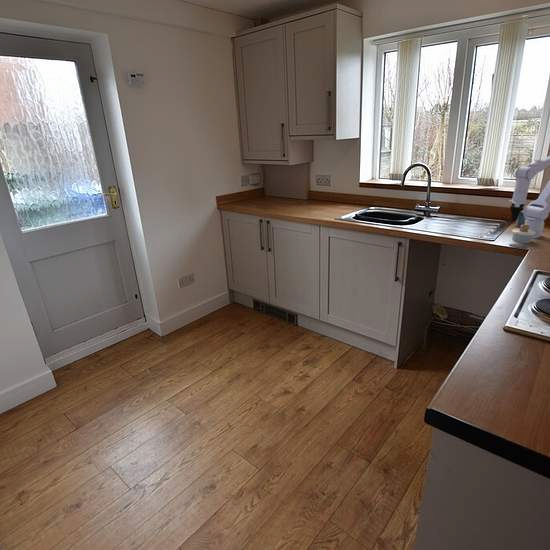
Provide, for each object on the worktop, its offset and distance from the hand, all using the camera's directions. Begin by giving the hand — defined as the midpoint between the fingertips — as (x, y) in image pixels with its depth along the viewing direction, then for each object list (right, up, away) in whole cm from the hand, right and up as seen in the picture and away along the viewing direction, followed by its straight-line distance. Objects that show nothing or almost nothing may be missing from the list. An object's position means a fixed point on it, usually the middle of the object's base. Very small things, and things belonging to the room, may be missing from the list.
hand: (514, 219), depth 186 cm
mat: (-3, -15, -8) cm, 17 cm away
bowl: (+4, -11, 0) cm, 12 cm away
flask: (+22, -1, +25) cm, 34 cm away
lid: (+4, -7, -2) cm, 8 cm away
